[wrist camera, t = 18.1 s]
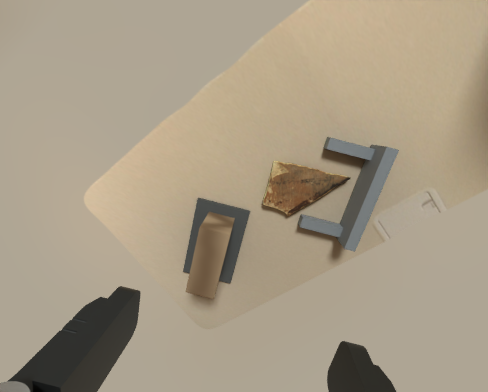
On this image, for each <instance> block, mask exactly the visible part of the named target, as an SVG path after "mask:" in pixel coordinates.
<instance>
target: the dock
mask: <svg viewBox="0 0 488 392" xmlns="http://www.w3.org/2000/svg"><path fill="white" fill-rule="evenodd" d="M324 148H325V149H328V150H332V151H336V152H340V153H344V154H348V155H351V156H355V157H359V158H363V159H365V162H364V164H363V167H362V169H361V172H360V174H359V177H358V180H357V182H356V185H355V187H354V190H353V192H352V195H351V197H350V200H349V202H348V205H347V207H346V210H345V212H344V215H343V217H342V220H341V222H340V224H337V223H333V222H330V221H326V220H322V219H318V218H314V217H310V216H306V215H302V214H301V216H300V219H299V222H298V225H299V227H301V228H305V229H309V230H313V231H317V232H320V233H324V234H328V235H332V236H336V238H337V239H338V241H339V242H340V243H341V245H342V246H343V248H344V249H347V250H351V251H355V250H356V248H357V246H358V243H359V241H360V239H361V236H362V234H363V232H364V230H365V227H366V225H367V223H368V220H369V218H370V216H371V213H372V211H373V209H374V206H375V204H376V202H377V200H378V197H379V195H380V193H381V190H382V188H383V186H384V183H385V181H386V179H387V177H388V174H389V172H390V170H391V167H392V165H393V163H394V160H395V158H396V156H397V154H398V151H399V150H397V149H393V148H389V147H384V146H377V145H371V147H370V148H368V147H365V146H361V145H357V144H353V143H349V142H345V141H341V140H338V139H334V138H329V137H327V140H326V142H325V145H324Z"/></svg>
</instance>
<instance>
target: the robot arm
mask: <svg viewBox="0 0 488 392" xmlns="http://www.w3.org/2000/svg"><path fill="white" fill-rule="evenodd" d="M139 302H140V291H138V290H134V289H130V288H126V287H122V286H120V287H118V288H117V289H116V290H115V291H114V292H113V293H112V295H111V296H110V297H109V298H108V299H107V298H102V297H100V298H98V299H96V300H94V301H93V302H91V303H89V304H87V305H86V306H85V307H83V308H82V309H81V310H80V311H79V312H78V313H77V314H76V315H75V317H73V319H72V320H70V321H69V322H68V323H67V324H66V325H65V326H64V327H63V329H62V330H61V331H59V332H58V333H57V334H56V335H55V336H54V337H53V338H52V339H51V340H50V341H49V342H48V343H47V344H46V345H45V346H44V347H43V348H42V349H41V350H40V351H39V352H38V353H37V354H36V355H35V356H34V357H33V358H32V359H31V360H30V361H29V362H28V363H27V364H26V365H25V366H24V367H23V368H22V369H21V370H20V371H19V372H18V373H17V374H15V375H14V376H13V377H12V378H11V379H10V380H8V381H7V382H4V383H0V392H97V391H98V389H99V388H100V386H101V385H102V383H103V382H104V380H105V378H106V377H107V375H108V374H109V372H110V371H111V369H112V367H113V366H114V364H115V363H116V361H117V359H118V358H119V356H120V355H121V353H122V351H123V350H124V349H125V347H126V345H127V344H128V342H129V341H130V339H131V337H132V335H133V333H134V331H135V328H136V325H137V320H138V312H139ZM327 383H328V390H329V392H396V390H395V388H394V386H393V384H392V383H391V381H390V380H389V379H388V378H387V376H386V375H385V374H384V372H383V371H382V370H381V369H380V367H379V366H376V365H373V363H372V361H371V358H370V356H369V354H368V352H367V350H366V348H364V346H361V345H357V344H353V343H349V342H345V341H342V342H341V343H340V345H339V347H338V349H337V351H336V354H335V356H334V358H333V361H332V363H331V365H330V367H329V370H328V377H327Z"/></svg>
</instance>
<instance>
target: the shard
mask: <svg viewBox="0 0 488 392" xmlns="http://www.w3.org/2000/svg"><path fill="white" fill-rule="evenodd" d="M349 179H350V177H346V176H342V175H337V174H331V173H326V172H322V171H320V170H317V169H313V168H308V167H306V166H300V165H297V164H293V163H282V162H279V161H274V162H273V166H272V171H271V175H270V178H269V183H268V186H267V189H266V192H265V195H264V198H263V205H265V206H269V207H273V208H276V209H279V210H281V211H283V212H285V213H286V214H287V216H290V215H291V214H293V213H295V212H297V211H298V210H300V209H301V208H303V207H305V206H307V205H308V204H310V203H312V202H314V201H316V200H317V199H319V198H320V197H322V196H323V195H325V194H327V193H328V192H330V191H331V190H332V189H334V188H335V187H337V186H338V185H340V184H342V183H345V182H346V181H347V180H349Z"/></svg>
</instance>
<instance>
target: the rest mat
mask: <svg viewBox="0 0 488 392" xmlns="http://www.w3.org/2000/svg"><path fill="white" fill-rule="evenodd" d="M209 212H212V213H216V214H220V215H224V216H228V217H232V218H235V220H234V223H233V227H232V231H231V235H230V239H229V243H228V246H227V250H226V254H225V258H224V262H223V266H222V270H221V273H220V277H219V281H222V282H226V283H231V279H232V275H233V272H234V268H235V264H236V261H237V257H238V253H239V250H240V246H241V242H242V239H243V235H244V231H245V228H246V224H247V220H248V217H249V213H250V211H248V210H244V209H241V208H237V207H233V206H229V205H225V204H221V203H217V202H213V201H209V200H205V199H201V198H198V200H197V205H196V210H195V215H194V220H193V225H192V230H191V235H190V240H189V245H188V250H187V255H186V260H185V265H184V270H183V272H187V273H190V270H191V265H192V260H193V256H194V251H195V246H196V242H197V237H198V232H199V228H200V226H201V224H202V223H203V221H204V219H205V218H206V216H207V214H208V213H209Z"/></svg>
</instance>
